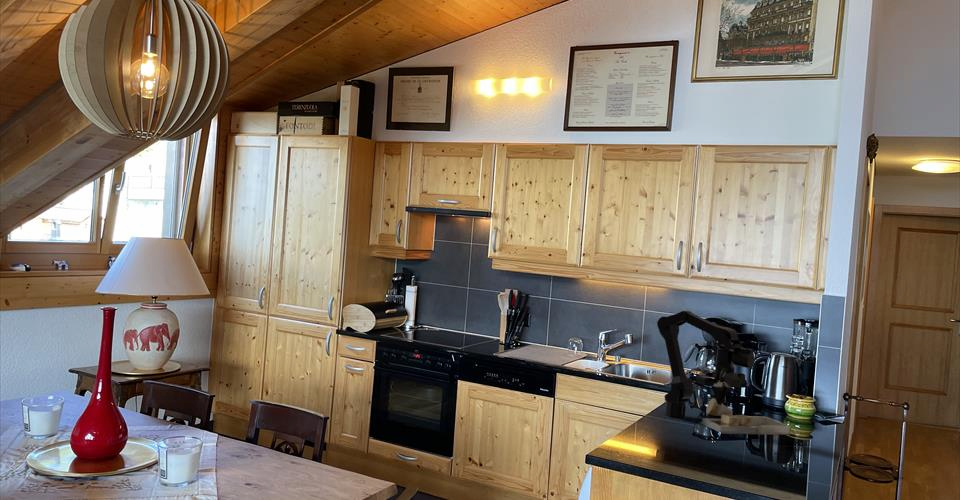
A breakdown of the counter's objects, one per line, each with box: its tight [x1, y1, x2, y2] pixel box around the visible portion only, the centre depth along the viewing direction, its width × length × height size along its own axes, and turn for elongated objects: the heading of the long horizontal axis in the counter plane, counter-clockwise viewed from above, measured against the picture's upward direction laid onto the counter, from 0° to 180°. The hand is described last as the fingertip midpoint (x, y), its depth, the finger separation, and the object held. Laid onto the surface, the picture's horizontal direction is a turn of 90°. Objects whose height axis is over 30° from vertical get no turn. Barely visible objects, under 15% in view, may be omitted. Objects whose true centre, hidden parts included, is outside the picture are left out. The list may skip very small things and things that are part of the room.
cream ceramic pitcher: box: [705, 397, 734, 417], centre depth 301 cm, size 8×10×10 cm
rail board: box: [700, 415, 792, 436], centre depth 282 cm, size 30×14×4 cm, turn 109°
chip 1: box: [720, 414, 739, 426], centre depth 279 cm, size 4×4×4 cm
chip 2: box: [733, 414, 752, 426], centre depth 281 cm, size 4×4×4 cm
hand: (719, 404), depth 278 cm, fingers closed
